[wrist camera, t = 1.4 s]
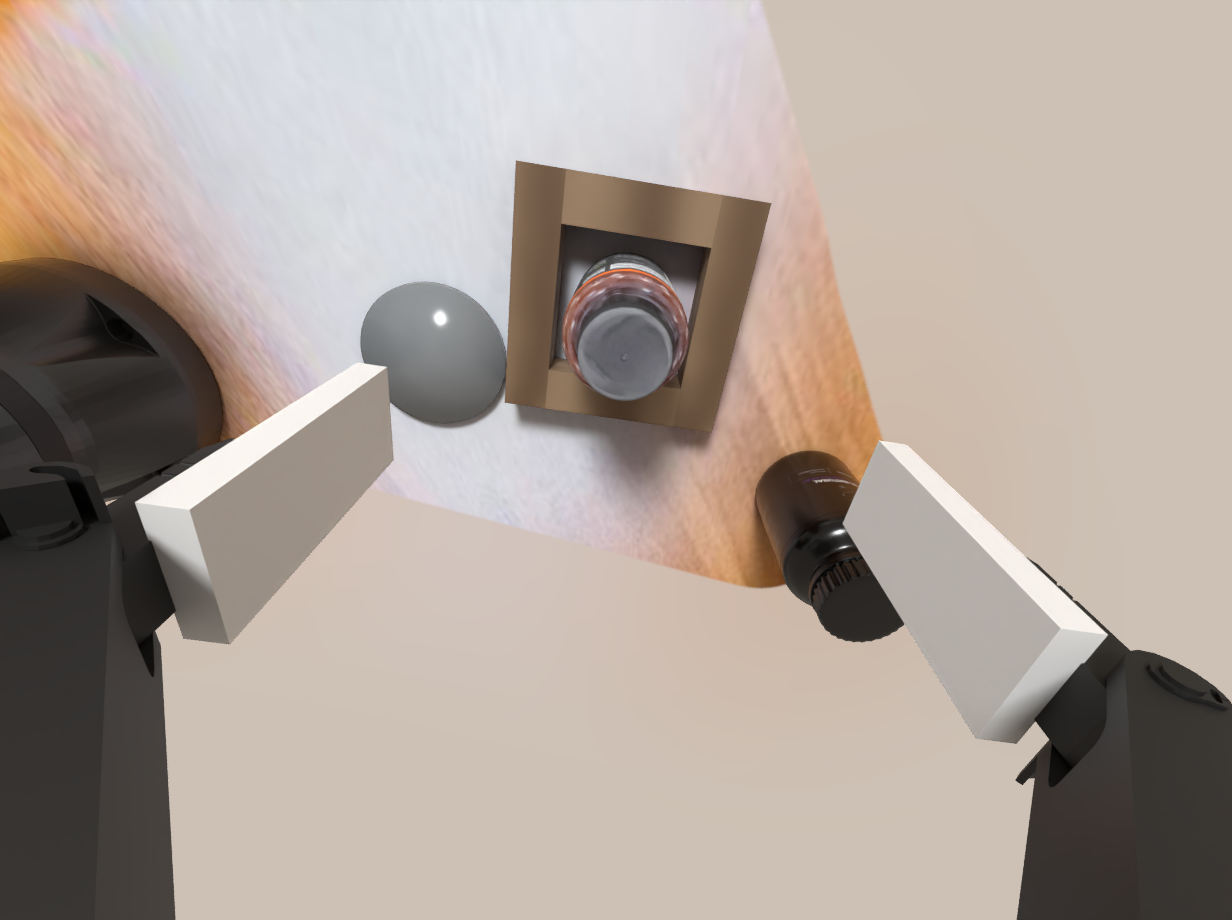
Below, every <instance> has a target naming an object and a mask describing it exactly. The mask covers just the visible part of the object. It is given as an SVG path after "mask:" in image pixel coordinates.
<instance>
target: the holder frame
mask: <svg viewBox="0 0 1232 920" xmlns="http://www.w3.org/2000/svg"><path fill="white" fill-rule="evenodd" d="M770 206H771V203H766V202H760V201H754V200H748V199H742V198H736V197H730V196H724V195H718V194H712V193H706V192H700V191H694V190H688V189H682V188H676V187H670V186H664V185H658V184H652V183H647V182H641V181H635V180H629V179H623V178H617V177H611V176H605V175H599V174H593V173H587V172H581V171H575V170H569V169H563V168H557V167H551V166H545V165H539V164H533V163H527V162H521V161H516V172H515V193H514V215H513V237H512V258H511V280H510V302H509V323H508V345H507V367H506V388H505V403H511V404H518V405H525V406H532V407H539V408H546V409H553V410H560V411H567V412H574V413H581V414H588V415H595V416H601V417H608V418H615V419H622V420H629V421H636V422H643V423H650V424H657V425H664V426H671V427H678V428H685V429H691V430H698V431H705V432H712V429H713V425H714V421H715V417H716V414H717V410H718V406H719V402H720V398H721V394H722V391H723V387H724V383H725V379H726V375H727V371H728V368H729V364H730V360H731V356H732V352H733V348H734V345H735V341H736V337H737V333H738V329H739V325H740V321H741V318H742V314H743V310H744V306H745V302H746V298H747V295H748V291H749V287H750V283H751V279H752V275H753V272H754V268H755V264H756V260H757V256H758V252H759V249H760V245H761V241H762V237H763V233H764V229H765V225H766V222H767V218H768V214H769V210H770ZM566 224H567V225H573V226H579V227H585V228H592V229H598V230H604V231H610V232H616V233H622V234H629V235H635V236H641V237H647V238H653V239H659V240H666V241H672V242H678V243H684V244H690V245H696V246H703V247H705V248H704V252H703V257H702V262H701V266H700V271H699V276H698V281H697V285H696V290H695V295H694V299H693V304H692V309H691V314H690V318H689V323H688V331H689V341H688V348H687V353H686V356H685V358H684V360H683V363H682V365H681V367H680V368H679V370H678V375H677V376H674V377H673V378H672V379H671V380H670V381H669V382H668V383H667V384H666V385H665V386H663V387H662V388H660V389H659V390H657V391H655V392H653V393H651V394H649V395H647V396H645V397H643V398H640V399H637V400H632V401H620V400H614V399H611V398H607V397H605V396H603V395H601V394H599V393H597V392H595V391H593V390H592V389H590V388H589V387H587V386H586V385H585V384H584V383H583V382H582V381H581V380H580V379H579V378H578V377H577V376H576V375H575V374H574V372H573V370H572V369H571V367H570V366H569V364H568V361H567V359H561V358H554V353H555V342H556V331H557V320H558V309H559V298H560V287H561V276H562V265H563V254H564V243H565V232H566Z"/></svg>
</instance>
